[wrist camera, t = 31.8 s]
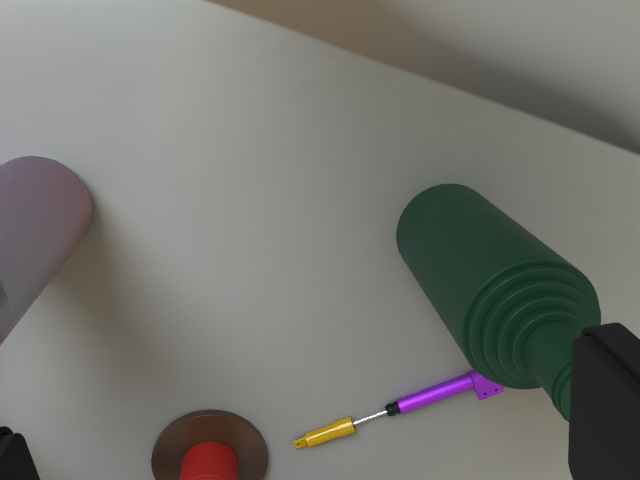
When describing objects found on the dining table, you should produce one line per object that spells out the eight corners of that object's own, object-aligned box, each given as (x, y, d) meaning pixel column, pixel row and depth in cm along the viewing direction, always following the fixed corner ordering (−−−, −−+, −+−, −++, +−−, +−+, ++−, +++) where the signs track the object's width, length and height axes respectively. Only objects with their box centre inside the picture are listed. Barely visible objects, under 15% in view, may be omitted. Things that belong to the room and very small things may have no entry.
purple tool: (502, 355, 43) (290, 433, 44) (509, 367, 42) (293, 447, 43) (507, 380, 45) (302, 454, 45) (514, 392, 44) (305, 468, 44)
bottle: (391, 192, 38) (508, 334, 21) (491, 176, 39) (687, 303, 21) (400, 285, 40) (512, 483, 23) (495, 269, 41) (674, 452, 24)
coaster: (140, 421, 42) (139, 426, 41) (256, 400, 42) (256, 405, 42) (166, 511, 45) (165, 518, 44) (275, 491, 45) (275, 497, 45)
